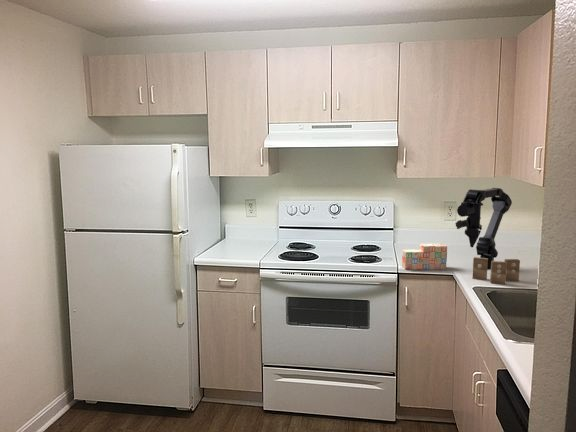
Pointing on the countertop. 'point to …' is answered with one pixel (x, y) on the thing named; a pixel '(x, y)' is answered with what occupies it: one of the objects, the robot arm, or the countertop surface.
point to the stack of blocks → (425, 257)
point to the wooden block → (480, 268)
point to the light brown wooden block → (498, 272)
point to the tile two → (512, 269)
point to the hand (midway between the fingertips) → (472, 246)
